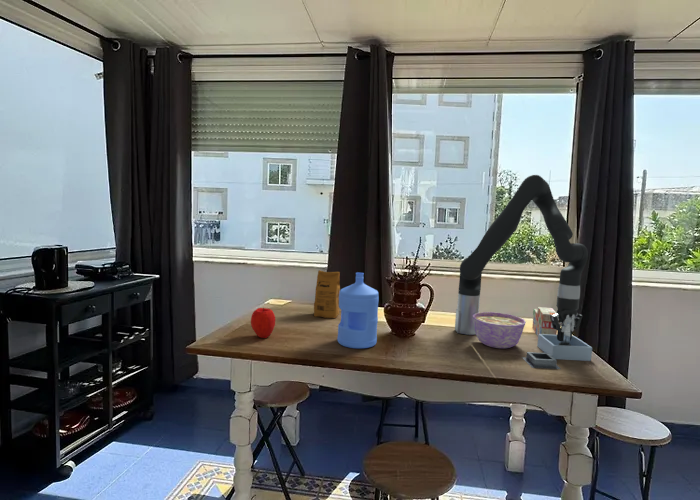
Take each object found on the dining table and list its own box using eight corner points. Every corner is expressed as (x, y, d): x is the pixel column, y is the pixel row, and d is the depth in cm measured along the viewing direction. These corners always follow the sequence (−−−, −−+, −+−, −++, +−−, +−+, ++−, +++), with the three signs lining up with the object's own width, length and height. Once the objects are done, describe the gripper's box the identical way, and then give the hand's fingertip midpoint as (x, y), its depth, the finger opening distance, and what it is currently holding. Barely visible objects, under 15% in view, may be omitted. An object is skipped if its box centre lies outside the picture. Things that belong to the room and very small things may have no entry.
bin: (551, 361, 158) (553, 345, 158) (537, 348, 172) (538, 333, 171) (590, 363, 158) (592, 347, 157) (572, 350, 172) (574, 335, 171)
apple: (245, 336, 173) (245, 306, 172) (265, 331, 181) (266, 303, 179) (259, 342, 167) (260, 311, 165) (280, 337, 174) (280, 307, 172)
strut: (555, 348, 165) (557, 313, 164) (562, 347, 167) (564, 312, 166) (566, 351, 161) (568, 316, 160) (573, 350, 163) (575, 315, 163)
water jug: (356, 334, 182) (359, 268, 179) (384, 343, 171) (388, 274, 168) (329, 341, 171) (331, 271, 168) (357, 352, 160) (360, 278, 157)
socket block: (531, 370, 149) (532, 360, 148) (521, 359, 159) (522, 350, 158) (561, 371, 148) (562, 362, 148) (549, 361, 158) (549, 352, 158)
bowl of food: (465, 337, 183) (467, 310, 182) (513, 339, 182) (515, 313, 181) (478, 354, 163) (480, 324, 162) (531, 356, 163) (534, 326, 161)
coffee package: (317, 311, 216) (318, 268, 213) (341, 314, 213) (343, 270, 210) (310, 316, 206) (312, 271, 204) (335, 319, 203) (337, 273, 201)
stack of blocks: (531, 327, 202) (534, 302, 201) (546, 329, 201) (548, 303, 199) (540, 341, 182) (542, 313, 180) (556, 343, 180) (558, 314, 179)
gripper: (575, 293, 168) (571, 336, 170) (545, 294, 164) (541, 338, 166) (591, 297, 161) (586, 342, 163) (561, 298, 157) (556, 344, 159)
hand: (564, 340), depth 164 cm, fingers closed on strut, 3 cm apart
